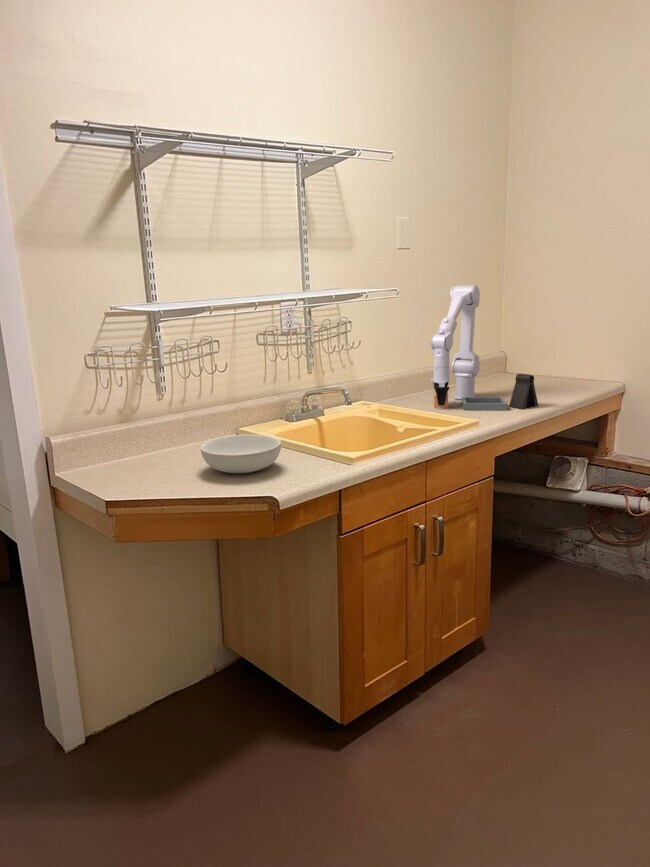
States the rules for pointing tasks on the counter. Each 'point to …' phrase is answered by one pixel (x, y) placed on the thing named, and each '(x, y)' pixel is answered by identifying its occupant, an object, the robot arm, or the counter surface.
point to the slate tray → (484, 403)
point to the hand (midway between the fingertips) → (441, 403)
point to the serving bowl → (241, 452)
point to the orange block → (440, 405)
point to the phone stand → (524, 392)
